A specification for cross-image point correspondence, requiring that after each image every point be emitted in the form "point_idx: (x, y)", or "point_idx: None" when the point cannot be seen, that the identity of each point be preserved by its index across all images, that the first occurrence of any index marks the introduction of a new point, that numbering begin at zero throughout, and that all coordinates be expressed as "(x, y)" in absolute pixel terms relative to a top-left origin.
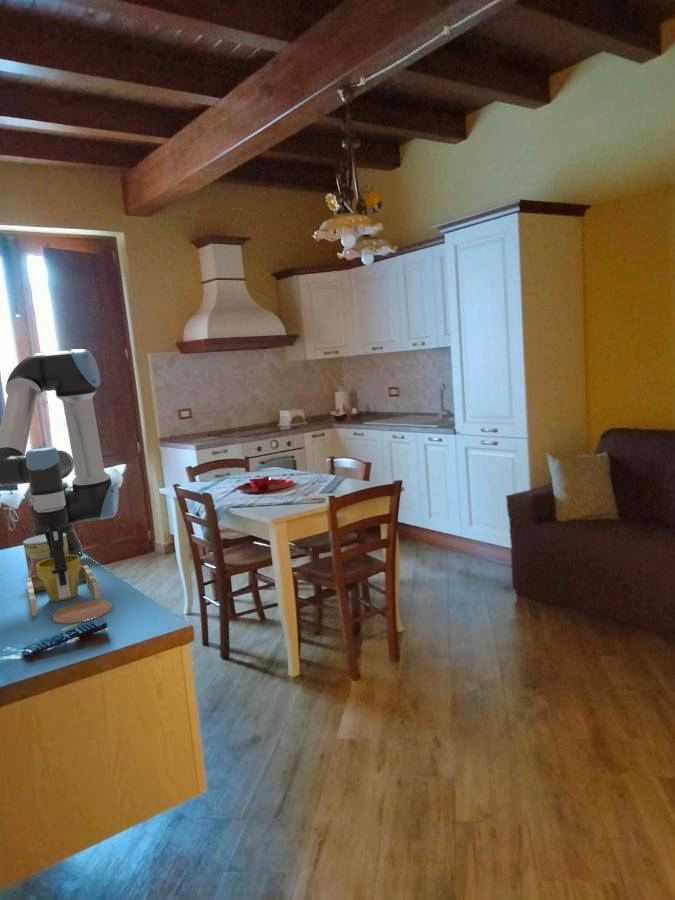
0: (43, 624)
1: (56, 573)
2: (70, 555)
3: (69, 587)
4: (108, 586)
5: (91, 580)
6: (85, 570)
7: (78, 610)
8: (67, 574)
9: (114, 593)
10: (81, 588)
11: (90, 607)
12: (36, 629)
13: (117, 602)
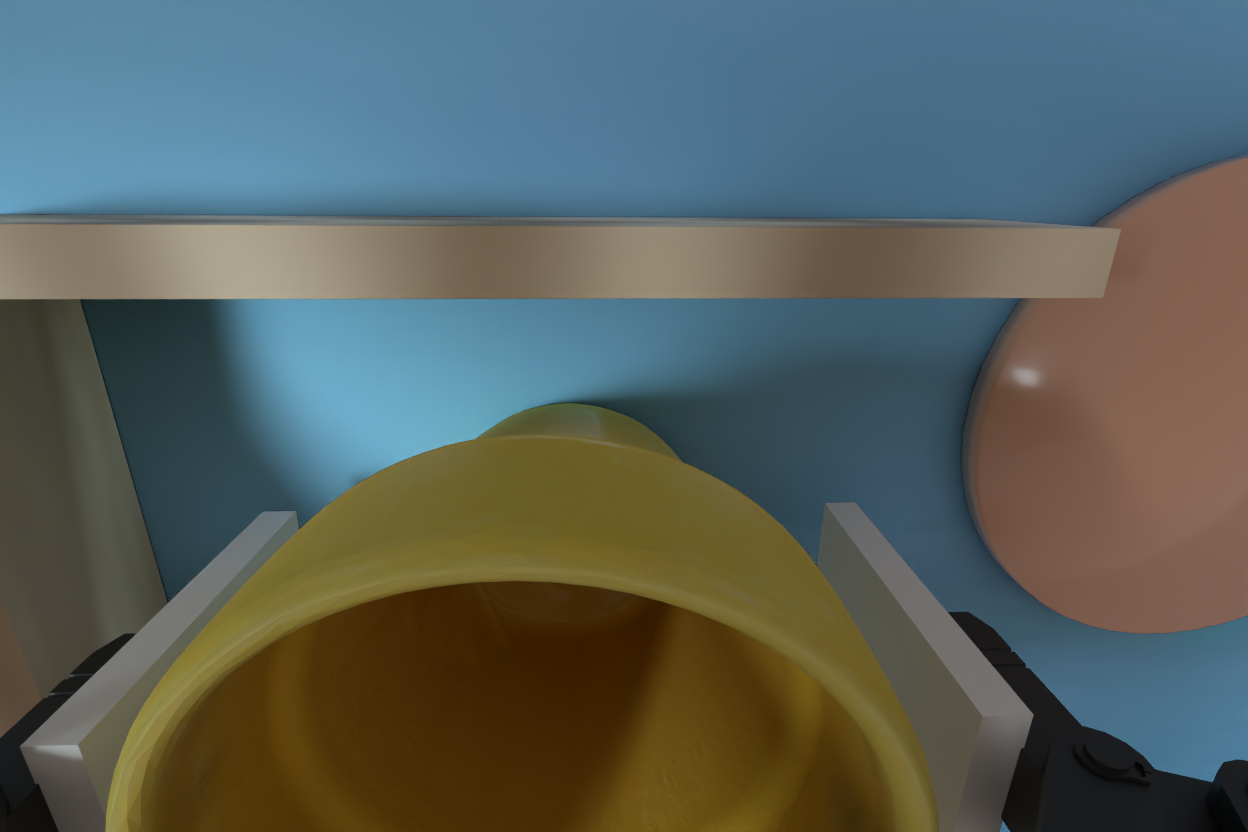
0: (1150, 672)
1: (993, 830)
2: (205, 696)
3: (896, 553)
4: (538, 49)
5: (834, 289)
6: (178, 298)
7: (1212, 457)
8: (992, 670)
9: (889, 35)
10: (390, 346)
11: (1245, 356)
12: (1204, 709)
13: (1236, 69)
